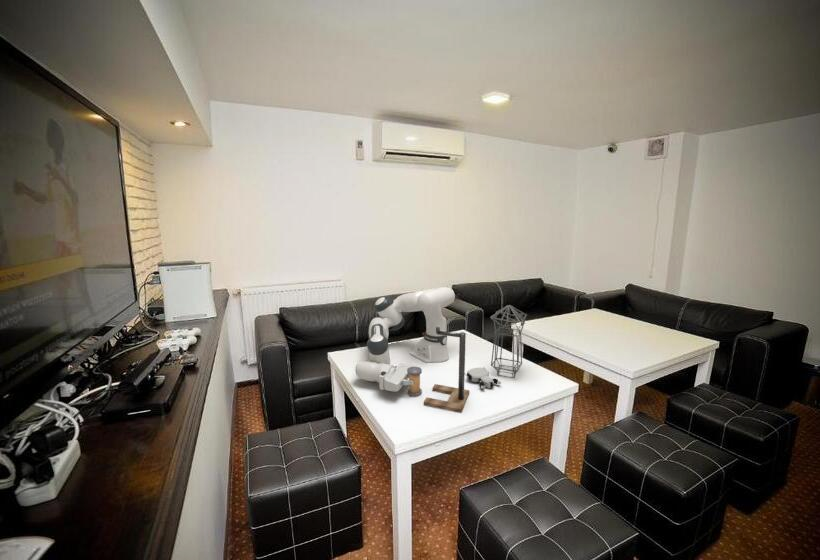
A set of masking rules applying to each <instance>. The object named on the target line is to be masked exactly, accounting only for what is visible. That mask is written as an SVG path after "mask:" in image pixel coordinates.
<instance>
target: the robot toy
mask: <svg viewBox="0 0 820 560" xmlns="http://www.w3.org/2000/svg"><path fill="white" fill-rule="evenodd" d="M465 376H466V378H467V379H468V380H469V381H471V382H474V383H479V384H478V385H479V387H480V389H483V390H484V389H485V388H488V389H490V388H493V387H494V384H495V385H501V384H502V381H500V380H498V378H493V377H490V372H489V371H488V370H487V368H485V366H482V367H474V368H471V369H468V370H467V371H466V373H465Z"/></svg>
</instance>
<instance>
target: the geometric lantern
mask: <svg viewBox="0 0 820 560" xmlns="http://www.w3.org/2000/svg"><path fill="white" fill-rule="evenodd" d="M511 313H513V314H511ZM500 314H501V315H502V317H501V318H497V317H498V316H499V315H500ZM511 316H513V317H514V319H513V318H511ZM527 316H528V314H527V313H525V312H523V311H521V310H519V309H517V308H516V307H514V306H513V305H511V304H509V305H508V304H507V305H505V306H504V307H501V308H500V309H498V310H496V311H495V313H494V314H492V315H491V316H490V317H489V318H490V319H491V320H492V322H493V324H494V325H493V327H494V335H493V343H492V353H491V361H490V366H491V367H493V369H495V371H496V374H497V376H499V377H504V378H509V377H510V379H513V378H516V377H515V376H516V374H517V372H518V371H519V370H520V369H521V366H522V365H523V351H522V350H523V349H522V347H523V345H522V343H523V342H522V332H523V328H524V325H525V324H526V323H525V322H526V319H527ZM504 317H505V318H506V319H504ZM499 321H500V322H501V323H500V322H499ZM504 321H505V323H504V324H503V322H504ZM508 323H510V324H508ZM518 323H520V325H519V327H518V325H517V324H518ZM496 324H497V326H498V328H496ZM512 325H515V326H516V328H512V327H510V326H512ZM520 328H521V329H520ZM504 329H507V330H509V331H510V333H511V334H512V335H511V334H507V333H506V334H505V333H504ZM513 330H514V331H516V333H514V332H513ZM500 332H501V333H500ZM517 334H518V335H517ZM500 335H501V340H500ZM504 336H507V337H512V359H509V358H508V359H507V358H502V354H503V353H502V352H503V342H504V341H503V339H504ZM515 337H516V360H515ZM499 341H501V344H500V343H499ZM499 344H500V353H498V350H499ZM498 354H500V357H499V358H498ZM519 358H520V359H519ZM498 360H500V361H498ZM502 360H505V361H510V362H512V366H511V365H504V364H501V363H502ZM519 360H520V361H519ZM496 362H497V363H498V366H496ZM503 367H506V368H503ZM507 367H509V368H512V369H509V368H507ZM503 370H504V371H503ZM499 373H504V374H505V373H506V374H511V376H508V375H502V374H499Z"/></svg>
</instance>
